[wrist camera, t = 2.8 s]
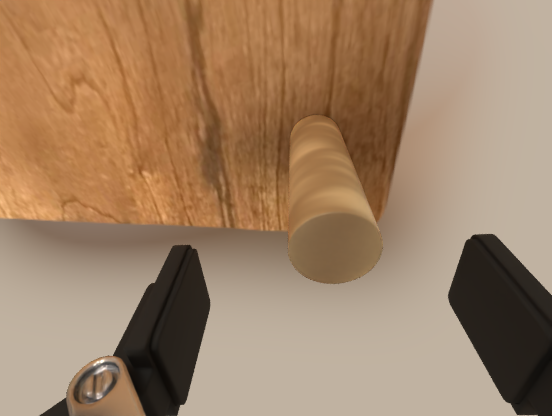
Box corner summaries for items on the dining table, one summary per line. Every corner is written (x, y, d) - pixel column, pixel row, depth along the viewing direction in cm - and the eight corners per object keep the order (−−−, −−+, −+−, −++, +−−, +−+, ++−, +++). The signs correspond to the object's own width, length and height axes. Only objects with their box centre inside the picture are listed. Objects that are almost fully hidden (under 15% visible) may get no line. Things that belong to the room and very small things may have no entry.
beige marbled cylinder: (342, 113, 21) (389, 210, 11) (339, 162, 23) (377, 283, 13) (288, 115, 21) (285, 213, 11) (290, 164, 23) (289, 285, 13)
